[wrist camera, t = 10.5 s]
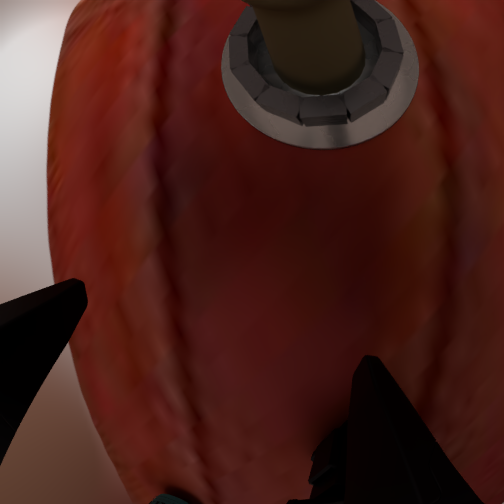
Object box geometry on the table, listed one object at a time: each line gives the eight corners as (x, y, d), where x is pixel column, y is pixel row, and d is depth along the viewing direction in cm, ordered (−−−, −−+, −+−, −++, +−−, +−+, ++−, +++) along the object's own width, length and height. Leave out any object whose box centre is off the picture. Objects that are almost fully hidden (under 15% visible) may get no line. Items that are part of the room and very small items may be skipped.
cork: (355, 106, 16) (347, -12, 5) (260, 85, 17) (164, -13, 7) (373, 30, 14) (368, -98, 4) (284, 14, 16) (221, -98, 5)
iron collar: (437, 30, 13) (445, 10, 11) (371, 187, 17) (375, 184, 14) (271, -24, 16) (261, -43, 13) (195, 108, 19) (175, 97, 17)
